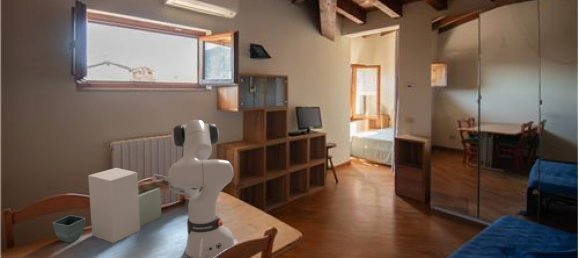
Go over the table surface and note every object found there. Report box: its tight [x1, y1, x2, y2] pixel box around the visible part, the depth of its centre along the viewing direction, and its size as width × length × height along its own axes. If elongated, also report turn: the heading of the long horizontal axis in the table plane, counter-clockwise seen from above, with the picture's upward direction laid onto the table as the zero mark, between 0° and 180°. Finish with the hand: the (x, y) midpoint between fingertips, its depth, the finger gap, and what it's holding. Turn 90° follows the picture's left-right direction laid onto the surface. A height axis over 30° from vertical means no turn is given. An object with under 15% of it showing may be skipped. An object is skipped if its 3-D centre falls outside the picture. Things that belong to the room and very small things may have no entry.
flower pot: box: [52, 214, 86, 243], centre depth 155 cm, size 9×9×9 cm
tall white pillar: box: [87, 167, 141, 244], centre depth 160 cm, size 14×14×28 cm
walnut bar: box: [138, 178, 169, 192], centre depth 179 cm, size 22×4×3 cm, turn 154°
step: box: [138, 187, 162, 227], centre depth 175 cm, size 15×8×15 cm, turn 154°
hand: (159, 177), depth 183 cm, fingers open, 5 cm apart
